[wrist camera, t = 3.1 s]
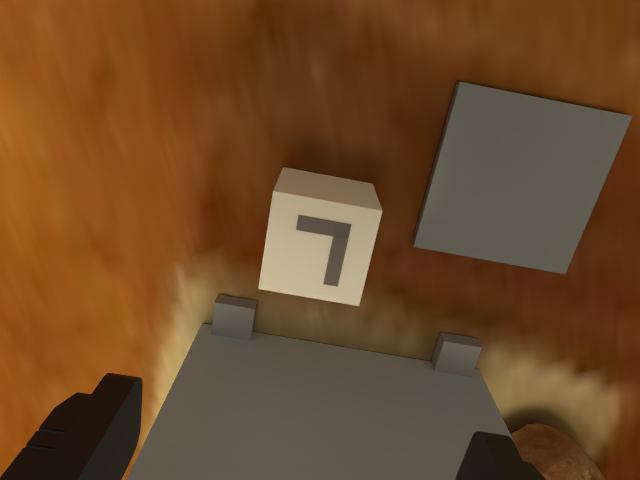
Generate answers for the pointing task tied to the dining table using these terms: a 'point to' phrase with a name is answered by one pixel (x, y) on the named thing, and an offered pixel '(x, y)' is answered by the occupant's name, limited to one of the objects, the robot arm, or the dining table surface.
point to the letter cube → (320, 236)
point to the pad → (516, 177)
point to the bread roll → (554, 454)
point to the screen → (314, 409)
